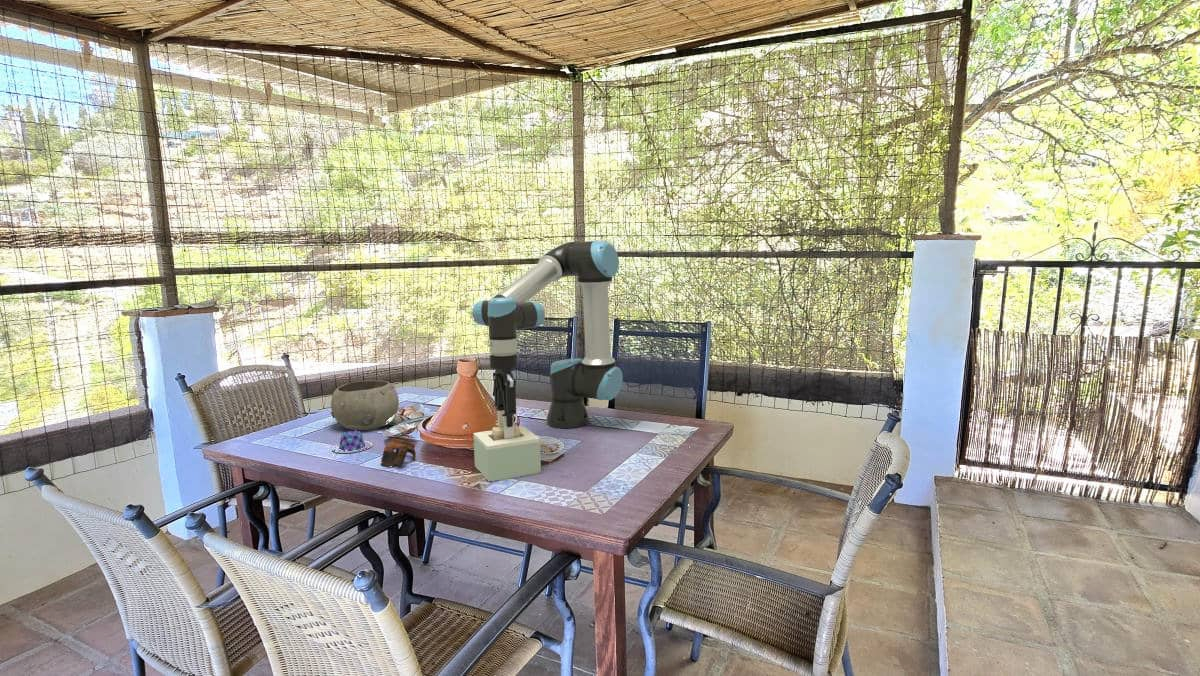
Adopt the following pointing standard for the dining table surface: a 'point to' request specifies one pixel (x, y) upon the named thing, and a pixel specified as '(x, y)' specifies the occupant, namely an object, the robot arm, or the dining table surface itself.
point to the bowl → (364, 404)
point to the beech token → (499, 432)
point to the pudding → (351, 441)
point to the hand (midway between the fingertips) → (506, 434)
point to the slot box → (507, 455)
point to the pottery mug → (397, 452)
